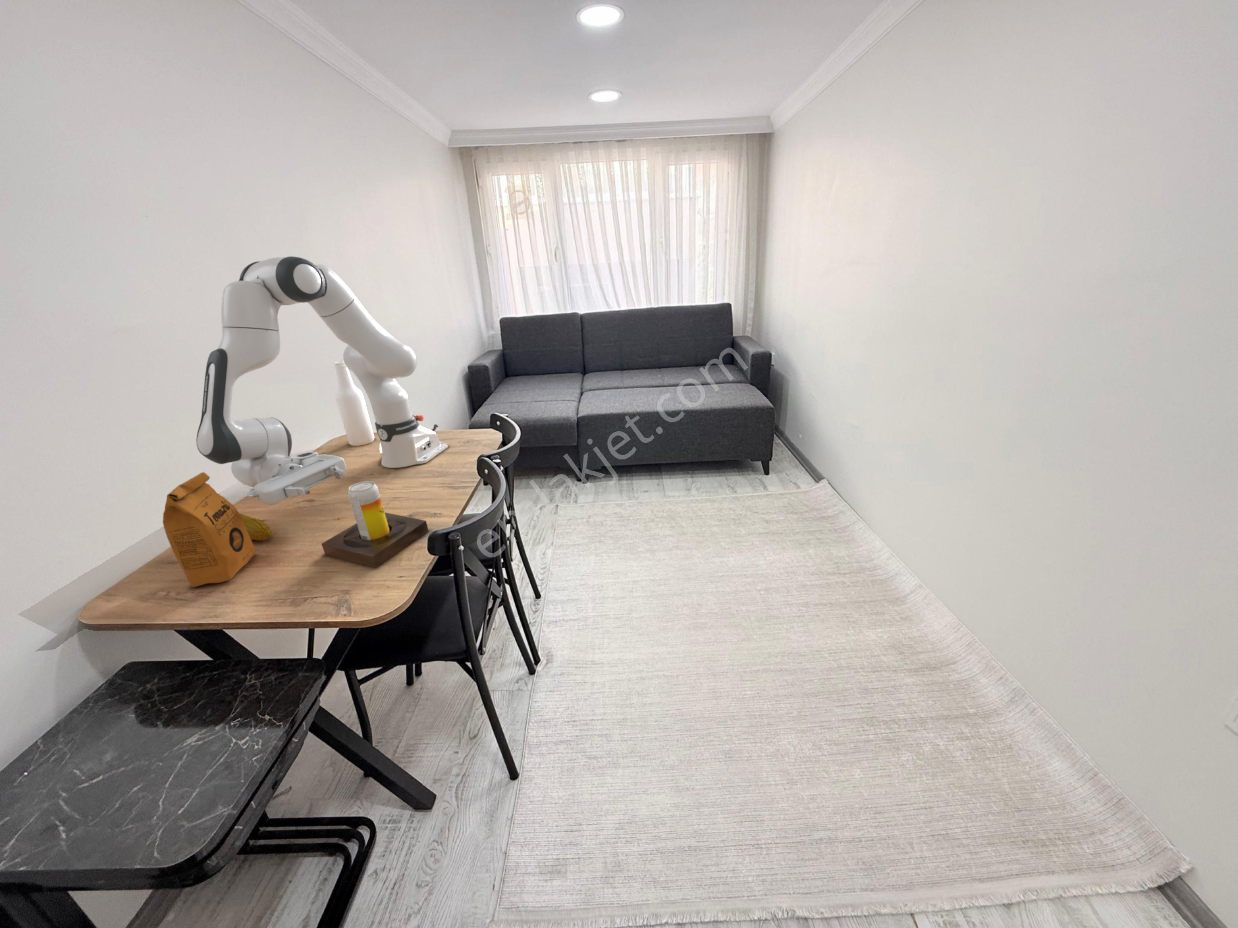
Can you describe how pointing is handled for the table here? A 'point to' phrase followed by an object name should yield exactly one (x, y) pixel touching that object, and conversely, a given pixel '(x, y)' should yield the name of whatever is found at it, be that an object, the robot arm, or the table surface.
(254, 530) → the food
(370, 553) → the holder
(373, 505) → the beer can
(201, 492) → the coffee package
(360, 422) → the alcohol
